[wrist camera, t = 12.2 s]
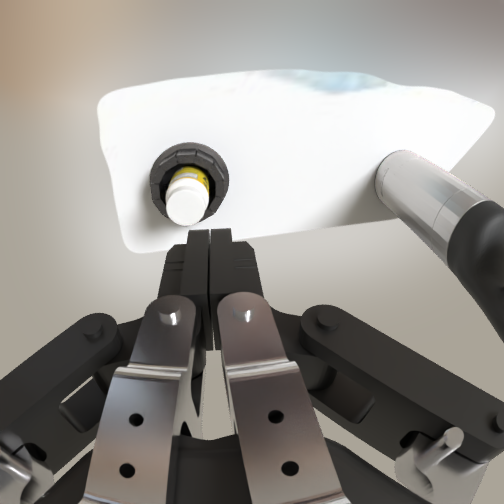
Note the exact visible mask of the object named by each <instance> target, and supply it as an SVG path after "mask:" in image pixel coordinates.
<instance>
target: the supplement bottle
mask: <svg viewBox="0 0 504 504" xmlns="http://www.w3.org/2000/svg"><path fill="white" fill-rule="evenodd" d="M208 202H209V179H208V175H207V173H206V172H205V171H204V170H203V169H202V168H201V167H199V166H197V165H194V164H187V165H183V166H181V167H179V168H178V169H177V170H176V171H175V172H174V174H173V176H172V178H171V181H170V184H169V187H168V190H167V192H166V211H167V214H168V216H169V218H170V219H171V220H172V221H173V222H175V223H176V224H179V225H182V226H190V225H193V224H195V223H197V222H198V221H200V220H201V218H202V217H203V215H204V213H205V210H206V208H207V206H208Z"/></svg>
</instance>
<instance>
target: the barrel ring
mask: <svg viewBox="0 0 504 504" xmlns="http://www.w3.org/2000/svg"><path fill="white" fill-rule="evenodd" d="M187 164H194V165H197V166H199V167H201V168H202V169H203V170H204V171H205V172H206V173H207V175H208V179H209V202H208V206H207V208H206V210H205V213H204V215H203V217H202V218H201V220H200V221H199V222H201V221H203V220H205V219H206V218H208V217H210V216H212V215H214V213H216V211H217V209H218V208H219V206H220V204H221V203H222V201H223V200H224V197H225V196H226V193H227V191H228V186H229V174H228V170H227V167H226V164H225V162H224V161H223V159H222V158H221V156H220V155H219V154H218V153H217V152H215V151H214V150H213V149H211V148H210V147H208V146H205V145H203V144H199V143H193V142H187V143H181V144H177V145H174V146H172V147H170V148H168V149H167V150H166V151H164V152H163V153H162V154H161V155H160V156H159V157H158V159H157V160H156V162H155V163H154V165H153V168H152V171H151V176H150V185H151V194H152V200H153V203H154V204H155V205H156V207H157V208H158V209H159V211H160V212H161V213H162V215H164V216H165V217H167V218H169V216H168V214H167V211H166V192H167V190H168V187H169V184H170V181H171V178H172V176H173V174H174V172H175V171H176V170H177V169H178V168H179V167H181V166H183V165H187ZM169 219H170V218H169ZM197 223H198V222H197Z"/></svg>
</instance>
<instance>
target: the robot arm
mask: <svg viewBox="0 0 504 504" xmlns="http://www.w3.org/2000/svg"><path fill="white" fill-rule="evenodd" d="M375 189H376V193H377V195H378V197H379V199H380V200H381V201H382V202H383V203H384V204H385V205H386V206H387V207H388V208H389V209H390V210H391V211H392V212H394V214H395V215H397V216H398V217H399V218H400V219H401V220H402V221H403V222H404V223H405V224H406V225H407V226H408V227H409V228H410V229H411V230H412V231H413V232H414V233H415V234H416V235H417V236H418V237H419V238H420V239H421V240H422V241H423V242H425V244H427V246H428V247H429V248H430V249H431V250H432V251H433V252H434V253H435V254H436V255H437V256H438V257H439V258H440V259H441V260H442V261H443V262H444V263H445V264H446V266H447V267H448V268H449V269H450V270H451V271H452V272H453V273H454V274H455V275H456V276H457V278H458V279H459V281H460V282H461V284H462V285H463V286H464V288H465V289H466V290H467V291H468V292H469V294H470V295H471V296H472V297H473V299H475V301H476V302H477V304H478V305H479V307H480V308H481V309H482V311H483V312H484V314H485V315H486V316H487V318H488V320H489V321H490V323H491V324H492V326H493V327H494V329H495V330H496V332H497V333H498V335H499V337H500V338H501V339H502V341H503V342H504V208H502V207H501V206H500V205H498V204H497V203H495V202H494V201H492V200H491V199H490V198H488V197H487V196H485V195H484V194H482V193H481V192H479V191H478V190H476V189H475V188H473V187H471V186H470V185H468V184H467V183H465V182H464V181H462V180H460V179H459V178H457V177H455V176H454V175H452V174H450V173H449V172H447V171H445V170H444V169H442V168H440V167H439V166H437V165H435V164H433V163H431V162H430V161H428V160H426V159H424V158H423V157H421V156H419V155H417V154H415V153H413V152H411V151H407V150H399V151H396V152H394V153H392V154H390V155H389V156H388V157H387V158H385V159H384V161H383V162H382V163H381V165H380V167H379V169H378V171H377V174H376V178H375ZM213 332H214V341H215V349H216V350H221V358H222V368H223V376H224V383H225V389H226V395H227V401H228V407H229V414H230V419H231V426H232V433H233V435H230V436H226V437H222V438H219V439H215V440H203V433H202V412H203V399H204V385H205V374H206V373H205V372H206V370H205V365H206V351H210V350H213ZM91 376H92V377H93V379H92V380H90V381H89V382H88V383H87V384H85V385H84V386H83V387H82V388H81V389H79V390H78V391H77V392H76V393H75V394H74V395H72V396H71V397H70V398H69V399H68V400H66V401H65V402H63V403H61V402H62V400H63V399H64V398H66V397H67V396H68V395H69V394H70V393H72V392H73V391H74V390H75V389H76V388H78V387H79V386H80V385H81V384H82V383H84V382H85V381H86V380H87V379H88V378H90V377H91ZM313 407H314V408H316V409H317V410H318V411H320V412H321V413H323V414H324V415H325V416H327V417H328V418H330V419H331V420H333V421H334V422H335V423H337V424H338V425H340V426H341V427H343V428H344V429H346V430H347V431H349V432H350V433H352V434H353V435H355V436H356V437H358V438H359V439H361V440H362V441H364V442H366V443H367V444H369V445H370V446H372V447H373V448H375V449H376V450H378V451H379V452H381V453H383V454H384V455H386V456H388V457H389V458H391V459H392V460H394V461H395V473H396V478H397V480H398V481H400V482H401V483H402V484H403V485H405V486H406V487H407V488H408V489H407V488H406V487H404V486H402V485H401V484H399V483H398V482H396V481H395V480H393V479H391V478H390V477H388V476H386V475H385V474H384V473H382V472H381V471H379V470H378V469H376V468H375V467H373V466H372V465H371V464H369V463H368V462H366V461H365V460H363V459H362V458H360V457H359V456H358V455H356V454H355V453H353V452H352V451H351V450H349V449H348V448H346V447H345V446H343V445H341V444H339V443H337V442H335V441H333V440H330V439H328V438H325V437H323V434H322V431H321V428H320V425H319V422H318V420H317V417H316V414H315V411H314V408H313ZM95 438H96V441H95V445H94V449H92V450H91V451H89V452H88V453H87V454H86V455H84V456H83V457H82V458H81V459H80V460H79V461H78V462H77V463H76V464H75V465H74V466H73V467H72V468H71V469H70V470H69V471H67V472H66V473H65V474H64V475H63V476H62V477H61V478H60V479H59V480H58V481H57V482H56V483H55V482H54V479H53V475H54V474H56V473H57V472H58V471H59V470H60V469H61V468H62V467H64V466H65V465H66V464H67V463H68V462H69V461H70V460H72V458H74V457H75V456H76V455H77V454H78V453H79V452H81V451H82V450H83V449H84V448H85V447H86V446H87V445H88V444H89V443H91V442H92V441H93V440H94V439H95ZM503 451H504V402H502V401H501V400H499V399H497V398H495V397H494V396H492V395H490V394H488V393H486V392H485V391H483V390H481V389H479V388H477V387H476V386H474V385H472V384H471V383H469V382H467V381H465V380H463V379H462V378H460V377H458V376H457V375H455V374H453V373H451V372H449V371H448V370H446V369H444V368H443V367H441V366H439V365H437V364H436V363H434V362H432V361H430V360H429V359H427V358H425V357H423V356H422V355H420V354H418V353H416V352H415V351H413V350H411V349H410V348H408V347H406V346H404V345H402V344H401V343H399V342H397V341H396V340H394V339H392V338H390V337H389V336H387V335H385V334H384V333H382V332H380V331H378V330H377V329H375V328H373V327H371V326H370V325H368V324H366V323H365V322H363V321H361V320H359V319H358V318H356V317H354V316H352V315H351V314H349V313H347V312H346V311H344V310H342V309H340V308H338V307H335V306H331V305H316V306H313V307H311V308H309V309H307V310H306V311H305V312H304V313H303V315H302V316H297V315H290V314H285V313H282V312H279V311H277V310H275V309H273V308H272V307H271V306H269V304H268V302H267V301H266V300H265V299H264V296H263V292H262V286H261V282H260V277H259V272H258V268H257V262H256V258H255V252H254V249H253V248H252V247H251V246H250V245H249V244H248V243H247V242H246V241H245V242H244V241H243V242H232V235H231V228H227V229H211V236H210V233H209V229H206V230H189V232H188V238H187V244H177V245H174V246H173V247H172V248H171V249H170V250H169V251H168V253H167V256H166V260H165V264H164V269H163V274H162V279H161V283H160V288H159V293H158V297H157V299H156V300H154V301H153V302H151V303H150V304H149V305H148V307H147V308H146V310H145V314H144V316H143V317H142V318H140V319H137V320H134V321H130V322H126V323H122V324H118V325H117V323H116V321H115V319H114V318H113V317H112V316H110V315H107V314H104V313H94V314H90V315H87V316H85V317H83V318H82V319H80V320H79V321H77V322H76V323H75V324H74V325H72V326H70V327H69V328H68V329H67V330H65V331H64V332H62V333H61V334H60V335H58V336H57V337H56V338H54V339H53V340H52V341H50V342H49V343H48V344H47V345H45V346H44V347H42V348H41V349H40V350H38V351H37V352H36V353H35V354H33V355H32V356H31V357H29V358H28V359H27V360H25V361H24V362H23V363H22V364H20V365H19V366H18V367H16V368H15V369H14V370H13V371H11V372H10V373H9V374H8V375H6V376H5V377H4V378H3V379H1V380H0V504H471V502H472V500H473V498H474V496H475V494H476V491H477V489H478V487H479V485H480V482H481V480H482V478H483V476H484V473H485V471H486V468H487V466H488V463H489V462H490V461H491V460H492V459H493V458H495V457H496V456H497V455H499V454H500V453H501V452H503Z"/></svg>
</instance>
